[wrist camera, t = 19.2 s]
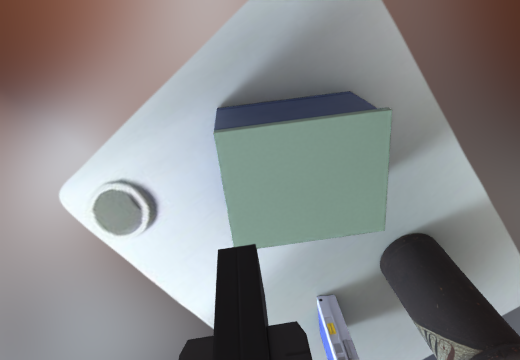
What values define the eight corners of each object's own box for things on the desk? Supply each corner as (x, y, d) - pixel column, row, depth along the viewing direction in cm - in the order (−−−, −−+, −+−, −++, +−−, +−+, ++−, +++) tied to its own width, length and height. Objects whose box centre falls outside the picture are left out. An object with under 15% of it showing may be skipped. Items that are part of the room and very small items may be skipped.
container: (366, 256, 48) (448, 400, 30) (422, 218, 46) (546, 349, 28) (396, 290, 51) (487, 438, 33) (450, 256, 49) (577, 395, 31)
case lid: (388, 107, 31) (392, 109, 30) (381, 226, 36) (384, 230, 35) (213, 130, 30) (213, 132, 29) (234, 247, 36) (234, 252, 35)
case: (350, 91, 38) (378, 108, 31) (349, 192, 43) (373, 227, 36) (216, 108, 37) (213, 129, 30) (233, 208, 43) (234, 247, 36)
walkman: (337, 330, 54) (364, 408, 43) (320, 333, 54) (342, 412, 43) (335, 292, 50) (363, 368, 40) (316, 296, 50) (340, 372, 40)
